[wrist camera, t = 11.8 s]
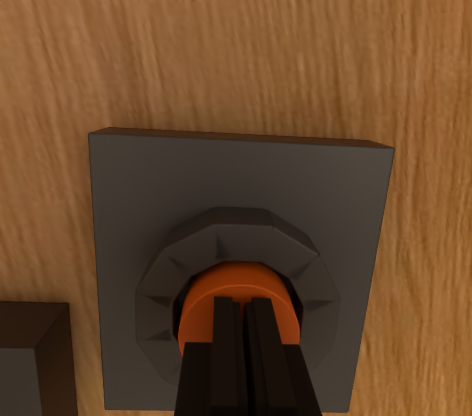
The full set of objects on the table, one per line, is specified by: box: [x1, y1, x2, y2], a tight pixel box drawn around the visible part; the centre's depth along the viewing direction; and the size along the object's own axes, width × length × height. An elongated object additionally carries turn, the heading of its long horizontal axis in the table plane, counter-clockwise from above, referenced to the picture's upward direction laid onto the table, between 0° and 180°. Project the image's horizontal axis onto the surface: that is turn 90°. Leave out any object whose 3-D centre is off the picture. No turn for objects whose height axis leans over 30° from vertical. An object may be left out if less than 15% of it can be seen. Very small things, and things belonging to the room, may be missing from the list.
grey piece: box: [88, 127, 395, 413], centre depth 14 cm, size 11×10×4 cm
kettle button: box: [178, 261, 300, 357], centre depth 12 cm, size 4×4×2 cm
